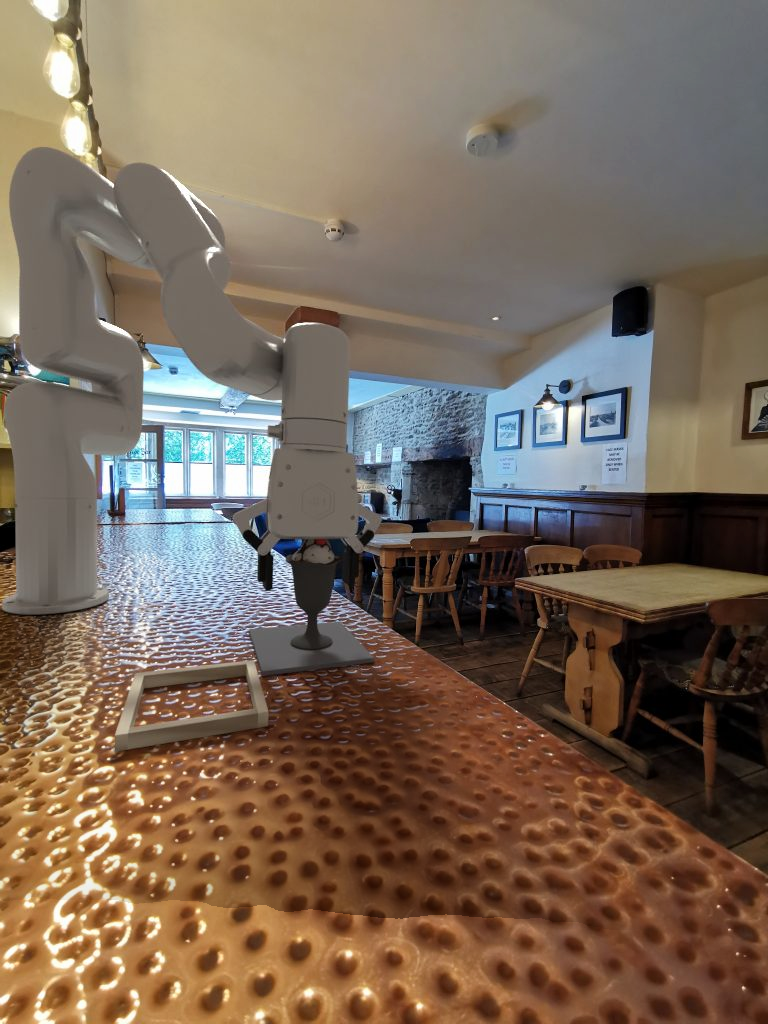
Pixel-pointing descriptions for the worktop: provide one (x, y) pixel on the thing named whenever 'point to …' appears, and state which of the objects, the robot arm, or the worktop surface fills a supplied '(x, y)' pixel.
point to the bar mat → (285, 658)
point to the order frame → (190, 727)
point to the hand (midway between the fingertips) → (309, 585)
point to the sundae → (313, 587)
